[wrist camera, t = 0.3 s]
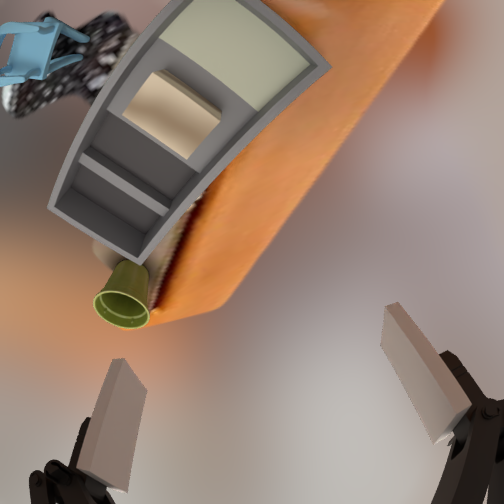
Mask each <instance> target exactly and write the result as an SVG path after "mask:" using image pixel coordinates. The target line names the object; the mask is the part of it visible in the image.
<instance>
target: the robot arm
mask: <svg viewBox="0 0 504 504" xmlns="http://www.w3.org/2000/svg"><path fill="white" fill-rule="evenodd" d="M382 330H383V331H382V337H381V345H380V346H381V347H382V349H383V351H384V353H385V354H386V356H387V358H388V359H389V361H390V363H391V365H392V366H393V368H394V370H395V372H396V374H397V375H398V377H399V379H400V381H401V383H402V384H403V386H404V388H405V390H406V392H407V394H408V396H409V397H410V399H411V401H412V403H413V405H414V407H415V409H416V411H417V413H418V414H419V417H420V419H421V421H422V422H423V424H424V427H425V428H426V431H427V433H428V435H429V437H430V439H431V441H432V443H433V445H434V444H435V443H437V442H439V441H441V440H443V439H444V438H446V437H448V436H449V434H450V433H451V432H452V431H453V432H454V437H453V438H452V439H451V440H450V441H449V443H448V446H450V445H451V444H452V446H451V449H450V453H449V456H448V459H447V462H446V465H445V469H444V471H443V474H442V477H441V480H440V482H439V485H438V488H437V490H436V493H435V495H434V498H433V500H432V503H431V504H483V501H484V498H485V495H486V491H487V488H488V497H487V498H488V499H487V504H504V399H503V400H499V401H496V400H494V399H491V398H489V399H488V398H487V397H486V396H485V395H484V394H483V392H482V391H481V389H480V388H479V387H478V385H477V384H476V382H475V381H474V379H473V378H472V377H471V375H470V374H469V373H468V372H467V370H466V368H465V367H464V366H463V365H462V363H461V361H460V360H459V359H458V357H457V356H456V355H454V354H452V353H451V352H449V351H448V350H447V351H445V352H443V353H441V354H438V353H437V352H436V350H435V349H434V348H433V346H432V345H431V343H430V342H429V341H428V340H427V338H426V337H425V336H424V334H423V333H422V332H421V330H420V329H419V328H418V326H417V325H416V324H415V322H414V321H413V320H412V319H411V317H410V316H409V315H408V314H407V312H406V311H405V310H404V309H403V307H402V306H401V305H400V304H399V303H398V302H396V303H394V304H390V305H387V306H385V310H384V320H383V329H382ZM146 394H147V389H146V388H145V387H144V385H143V384H142V383H141V381H140V380H139V379H138V377H137V376H136V374H135V373H134V372H133V370H132V369H131V367H130V366H129V364H128V363H127V361H126V360H125V359H124V358H121V359H113V360H112V362H111V365H110V367H109V370H108V373H107V375H106V378H105V381H104V383H103V386H102V388H101V391H100V394H99V397H98V399H97V402H96V405H95V408H94V411H93V414H92V417H91V418H89V417H87V418H86V419H85V421H84V422H83V423H82V425H81V427H80V430H79V435H78V436H77V439H76V440H77V442H76V443H75V446H74V449H73V452H72V456H71V459H70V463H69V466H68V467H67V466H65V465H64V464H62V463H61V462H60V461H58V460H50V461H49V462H48V463H47V464H46V466H45V468H44V473H43V472H41V471H39V470H35V471H34V472H33V473H31V475H30V477H29V488H30V498H31V504H56V503H57V504H115V502H114V500H113V499H112V497H111V495H110V494H109V492H108V491H107V490H106V488H107V487H109V488H111V489H112V490H115V491H119V492H124V493H127V492H128V486H129V479H130V473H131V467H132V462H133V456H134V451H135V445H136V440H137V435H138V430H139V425H140V421H141V416H142V411H143V407H144V403H145V398H146ZM488 485H489V487H488Z"/></svg>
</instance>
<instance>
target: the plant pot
mask: <svg viewBox="0 0 504 504" xmlns="http://www.w3.org/2000/svg"><path fill="white" fill-rule="evenodd" d="M148 281H149V274H148V271H147V269H146V268H145V267H144V266H143V265H141V266H140V265H138V264H136V263H135V262H133V261H131V260H124V261H121V262H120V263H119V264H118V265H117V266H116V268H115V270H114V271H113V273H112V275H111V277H110V278H109V280H108V282H107V283H106V285H105V287H104V288H103V289H102V290H101V291H100V292H99V293H98V294H97V295H96V296H95V297H94V300H93V306H94V309H95V311H96V312H97V314H98V315H99V316H100V317H101V318H102V319H104V320H105V321H107V322H108V323H110V324H112V325H115V326H117V327H121V328H126V329H137V328H140V327H143V326H145V325H146V324H147V323H148V321H149V318H150V313H149V310H148V305H147V293H148Z"/></svg>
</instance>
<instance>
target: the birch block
mask: <svg viewBox="0 0 504 504" xmlns="http://www.w3.org/2000/svg"><path fill="white" fill-rule="evenodd" d="M221 113H222V111H221V110H220V109H219V108H217V107H216V106H215V105H213V104H212V103H211V102H210V101H208V100H207V99H206V98H204V97H203V96H202V95H200V94H199V93H198V92H196V91H195V90H193V89H192V88H191V87H189V86H188V85H187V84H185V83H184V82H182V81H181V80H180V79H178V78H177V77H175V76H174V75H172V74H171V73H170V72H168V71H167V70H165V69H163V70H159V71H155V72H152V73H151V75H150V76H149V77H148V79H147V80H146V81H145V83H144V84H143V85H142V87H141V88H140V89H139V91H138V92H137V94H136V95H135V96H134V98H133V99H132V101H131V102H130V104H129V105H128V107H127V108H126V110H125V111H124V113H123V114H122V115H123V116H124V117H126V118H127V119H129V120H130V121H132V122H133V123H135V124H136V125H138V126H139V127H140V128H142V129H143V130H145V131H146V132H148V133H149V134H151V135H152V136H154V137H155V138H157V139H158V140H159V141H161V142H162V143H164V144H165V145H167V146H168V147H169V148H171V149H172V150H174V151H175V152H177V153H178V154H179V155H181V156H182V157H184V158H185V159H186V160H187V159H188V158H189V156H190V155H191V154H192V153H193V152H194V151H195V149H196V148H197V147H198V146H199V145H200V144H201V142H202V141H203V140H204V139H205V138H206V137H207V136H208V135H209V133H210V132H211V131H212V130H213V129H214V128H215V127H216V126H217V125H218V123H219V122H220V120H221Z"/></svg>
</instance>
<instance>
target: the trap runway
mask: <svg viewBox="0 0 504 504" xmlns="http://www.w3.org/2000/svg"><path fill="white" fill-rule="evenodd" d="M331 68H332V66H331V65H330V64H329V63H328V62H327V61H326V60H325V59H324V58H323V57H322V56H321V55H320V54H319V53H318V52H317V50H316V49H315V48H314V47H313V46H312V45H311V44H309V43H308V42H307V41H306V40H305V39H304V38H303V37H302V36H301V35H300V34H299V33H298V32H297V31H296V30H295V29H294V28H292V27H291V26H290V25H289V24H288V23H287V22H286V21H285V20H283V19H282V18H281V17H280V16H279V15H277V14H276V13H275V12H274V11H273V10H271V9H270V8H269V7H268V6H266V5H265V4H264V3H263V2H261V1H260V0H171V1H170V2H169V3H168V4H167V5H166V6H165V7H164V9H163V10H162V11H161V12H160V13H159V14H158V15H157V16H156V17H155V18H154V19H153V21H152V22H151V23H150V24H149V25H148V26H147V27H146V29H145V30H144V31H143V32H142V33H141V35H140V36H139V37H138V38H137V40H136V41H135V42H134V43H133V45H132V46H131V47H130V49H129V50H128V51H127V53H126V54H125V55H124V57H123V58H122V59H121V61H120V62H119V64H118V65H117V67H116V68H115V69H114V71H113V72H112V74H111V75H110V77H109V78H108V80H107V82H106V83H105V85H104V86H103V88H102V90H101V91H100V93H99V94H98V96H97V98H96V99H95V101H94V103H93V105H92V106H91V108H90V110H89V112H88V114H87V115H86V117H85V119H84V121H83V123H82V125H81V127H80V129H79V131H78V133H77V135H76V137H75V139H74V141H73V143H72V145H71V148H70V150H69V152H68V154H67V156H66V159H65V161H64V164H63V166H62V168H61V171H60V174H59V176H58V178H57V181H56V183H55V186H54V189H53V192H52V195H51V197H50V200H49V203H48V206H47V209H49V210H50V211H52V212H53V213H55V214H56V215H58V216H59V217H61V218H62V219H64V220H65V221H67V222H69V223H70V224H72V225H73V226H75V227H76V228H78V229H79V230H81V231H83V232H84V233H86V234H88V235H89V236H91V237H92V238H94V239H96V240H97V241H99V242H100V243H102V244H104V245H105V246H107V247H109V248H110V249H112V250H114V251H116V252H117V253H119V254H121V255H122V256H124V257H126V258H128V259H129V260H131V261H133V262H135V263H136V264H138V265H140V266H141V265H142V263H143V262H144V261H145V260H146V258H147V257H148V256H149V255H150V253H151V252H152V251H153V250H154V248H155V247H156V246H157V245H158V243H159V242H160V241H161V240H162V239H163V237H164V236H165V235H166V234H167V232H168V231H169V230H170V229H171V228H172V227H173V225H174V224H175V223H176V222H177V221H178V219H179V218H180V217H181V216H182V215H183V214H184V212H185V211H186V210H187V209H188V208H189V207H190V206H191V204H192V203H193V202H194V201H195V200H196V199H197V198H198V197H199V195H200V194H201V193H202V192H203V191H204V190H205V189H206V188H207V187H208V186H209V184H210V183H211V182H212V181H213V180H214V179H215V178H216V177H217V176H218V175H219V174H220V173H221V172H222V170H223V169H224V168H225V167H226V166H227V165H228V164H229V163H230V162H231V161H232V160H233V159H234V158H235V157H236V156H237V155H238V154H239V153H240V152H241V151H242V150H243V149H244V148H245V147H246V146H247V145H248V144H249V143H250V142H251V141H252V140H253V139H254V138H255V137H256V136H257V135H258V134H259V133H260V132H261V131H262V130H263V129H264V128H265V127H266V126H267V125H268V124H269V123H270V122H271V121H272V120H273V119H274V118H275V117H276V116H278V115H279V114H280V113H281V112H282V111H283V110H284V109H285V108H286V107H287V106H288V105H289V104H290V103H292V102H293V101H294V100H295V99H296V98H297V97H298V96H299V95H300V94H302V93H303V92H304V91H305V90H306V89H307V88H308V87H310V86H311V85H312V84H313V83H314V82H315V81H316V80H318V79H319V78H320V77H321V76H322V75H324V74H325V73H326V72H327V71H328V70H330V69H331ZM163 69H165V70H167V71H168V72H170V73H171V74H172V75H174V76H175V77H177V78H178V79H180V80H181V81H182V82H184V83H185V84H187V85H188V86H189V87H191V88H192V89H193V90H195V91H196V92H198V93H199V94H200V95H202V96H203V97H204V98H206V99H207V100H208V101H210V102H211V103H212V104H213V105H215V106H216V107H217V108H219V109H220V110H221V111H222V113H221V120H220V122H219V123H218V125H217V126H216V127H215V128H214V129H213V130H212V131H211V132H210V133H209V135H208V136H207V137H206V138H205V139H204V140H203V141H202V142H201V144H200V145H199V146H198V147H197V148H196V149H195V151H194V152H193V153H192V154H191V155H190V156H189V158H188V159H187V160H186V159H185V158H184V157H182V156H181V155H179V154H178V153H177V152H175V151H174V150H172V149H171V148H169V147H168V146H167V145H165V144H164V143H162V142H161V141H159V140H158V139H157V138H155V137H154V136H152V135H151V134H149V133H148V132H146V131H145V130H143V129H142V128H140V127H139V126H138V125H136V124H135V123H133V122H132V121H130V120H129V119H127V118H126V117H124V116H123V115H122V114H123V113H124V111H125V110H126V108H127V107H128V105H129V104H130V102H131V101H132V99H133V98H134V96H135V95H136V94H137V92H138V91H139V89H140V88H141V87H142V85H143V84H144V83H145V81H146V80H147V79H148V77H149V76H150V75H151V73H152V72H155V71H159V70H163Z"/></svg>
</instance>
